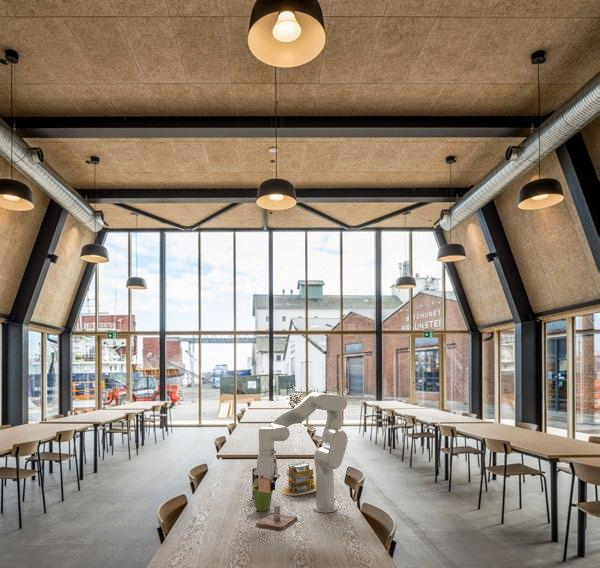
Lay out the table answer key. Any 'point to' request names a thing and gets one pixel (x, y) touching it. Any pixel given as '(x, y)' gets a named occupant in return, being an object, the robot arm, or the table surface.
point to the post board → (276, 520)
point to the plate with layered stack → (300, 479)
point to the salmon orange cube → (264, 484)
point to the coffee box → (254, 481)
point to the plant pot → (262, 499)
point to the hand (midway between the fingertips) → (267, 489)
